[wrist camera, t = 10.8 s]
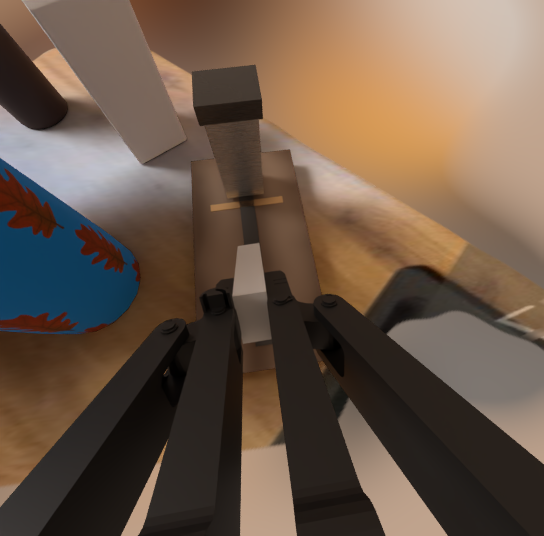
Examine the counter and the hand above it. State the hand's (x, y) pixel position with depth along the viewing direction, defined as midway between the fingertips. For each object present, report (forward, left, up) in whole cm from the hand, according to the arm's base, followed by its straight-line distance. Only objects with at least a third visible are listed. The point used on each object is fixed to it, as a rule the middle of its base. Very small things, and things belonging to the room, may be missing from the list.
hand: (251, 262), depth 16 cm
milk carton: (-12, +24, -9) cm, 29 cm away
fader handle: (0, +12, -6) cm, 13 cm away
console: (0, +4, -9) cm, 10 cm away
